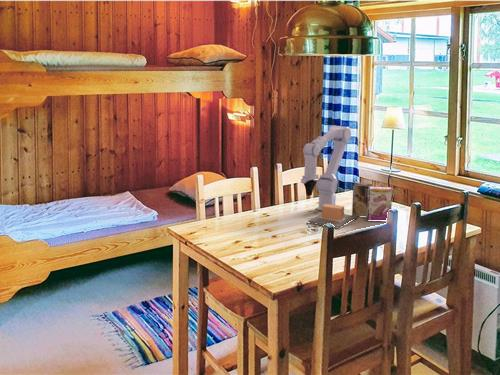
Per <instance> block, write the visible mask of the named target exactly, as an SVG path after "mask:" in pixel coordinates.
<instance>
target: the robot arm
mask: <svg viewBox="0 0 500 375" xmlns="http://www.w3.org/2000/svg"><path fill="white" fill-rule="evenodd" d="M351 135H352V132H351V128H350V127H349V126H340V125H334V124H333V125H331V126H330V127H329V128H328V131H327V132H326V133H324V135H323V136H322V135H321V136H319V135H318V136H317V137H316V138H315V139H314V140H312V141H311V142H309V143H308V142H307V143H306V144H305V145H304V146H303V147H302V148H303V149H302V153H303V158H304V170H303V171H304V174H303V175H301V177H302V178H301V179H300V182H301V184H303V186H304V188H305V193H306V196H312V195H313V192H314V188H316V190H317V192H318V206H317V207H315V210H316V209H317V210H318V211H321V210H322V206H323V205H324V204H330V205H336V197H337V196H336V192H337V189H338V183H339V180H338V178H337V177H336V175H337V172H338V169H339V168H340V164H341V161H342V158H343V156H344V152H345V150H346V147H347V146H348V144H349V141H350V138H351ZM329 141H332V143H333V144H334V148H333V151H332V152H331V156H330V159H329V162H328V165H327V167H326V170H325V172H324V173H322V174H321V175H319V174H317V162H318V161H317V160H318V156H319V155H320V153H321V151H322V149H324V148H325V147H326V146H327V145H328V144H327V143H328V142H329ZM316 179H317V180H316Z"/></svg>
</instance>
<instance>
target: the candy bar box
mask: <svg viewBox="0 0 500 375" xmlns="http://www.w3.org/2000/svg"><path fill="white" fill-rule="evenodd" d="M393 191H394V189H393V188H392V187H386V186H385V187H384V186H383V187H382V186H373V187H369V188H368V203H367V216H366V218H367V219H366V218H365V219H366V221H367V220H386V218H387V212H388V210H389V209H391V210H392V206H393V205H392V204H393V194H394V193H393Z"/></svg>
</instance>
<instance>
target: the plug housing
mask: <svg viewBox="0 0 500 375" xmlns="http://www.w3.org/2000/svg"><path fill="white" fill-rule="evenodd" d="M321 214H322V218H324V219H331V220H338V221H341V220H342V219H344V214H345V206H344V205H342V206H341V205H336V204H335V205H330V204H324V205H323V206H322V211H321Z"/></svg>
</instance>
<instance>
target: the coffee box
mask: <svg viewBox="0 0 500 375" xmlns="http://www.w3.org/2000/svg"><path fill="white" fill-rule="evenodd" d="M369 187H374V186H373V183H365V182H364V183H362V182H354V183H353V185H352V203H351V204H352V206H351V213H352V214H351V215H352V216H367V203H368V188H369Z"/></svg>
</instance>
